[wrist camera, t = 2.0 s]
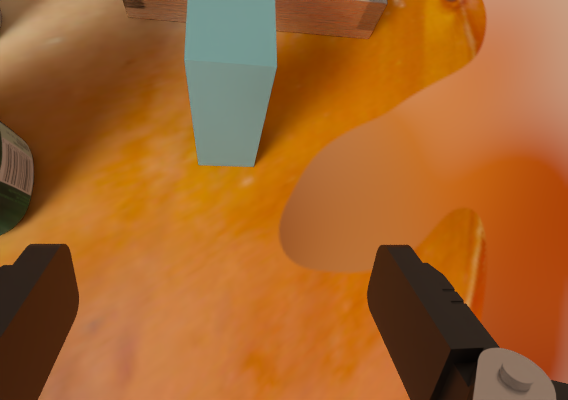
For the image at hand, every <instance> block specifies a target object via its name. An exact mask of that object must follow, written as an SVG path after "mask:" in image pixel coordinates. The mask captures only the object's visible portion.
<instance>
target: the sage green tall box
mask: <svg viewBox="0 0 568 400" xmlns="http://www.w3.org/2000/svg"><path fill="white" fill-rule="evenodd" d="M184 62H185V69H186V76H187V84H188V91H189V99H190V106H191V113H192V121H193V128H194V136H195V143H196V150H197V158H198V165H213V166H244V167H254V164H255V159H256V155H257V151H258V146H259V142H260V138H261V133H262V129H263V125H264V121H265V116H266V112H267V108H268V103H269V99H270V95H271V90H272V86H273V82H274V77H275V73H276V69H277V50H276V14H275V0H187V18H186V37H185V55H184Z"/></svg>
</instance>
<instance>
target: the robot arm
mask: <svg viewBox="0 0 568 400" xmlns="http://www.w3.org/2000/svg"><path fill="white" fill-rule="evenodd" d="M367 299H368V306H369V309H370V312H371V314H372V316H373V318H374V321H375V323H376V325H377V327H378V329H379V332H380V334H381V336H382V338H383V340H384V343H385V345H386V347H387V349H388V351H389V354H390V356H391V358H392V360H393V363H394V365H395V367H396V369H397V371H398V374H399V376H400V378H401V380H402V382H403V385H404V387H405V389H406V391H407V393H408V396H409V398H410V400H568V384H566V383H562V382H557V381H553V380H550V379H549V377H548V376H547V375H546V374H545V372H544V371H543V370H542V369H541V368H540V367H538V366H537V365H536V364H535V363H534V362H532V361H531V360H529V359H528V358H526V357H524V356H523V355H520V354H518V353H516V352H513V351H511V350H507V349H503V348H500V347H499V346H498V345H497V343H496V342H495V341H494V339H493V338H492V337H491V336H490V334H489V333H488V332H487V330H486V329H485V328H484V327H483V325H482V324H481V323H480V321H479V320H478V319H477V317H476V316H475V315H474V314H473V312H472V311H471V310H470V308H469V307H468V306H467V304H464V302H463V299H462V298H461V297H460V295H459V294H458V293H457V292H455V291H454V288H453V286H452V285H451V284H450V282H449V281H448V280H447V279H446V277H445V276H444V275H443V274H442V273H440V272H439V271H438V270H436V269H435V268H434V267H432V266H431V265H430V264H428V263H422V261H421V260H420V259H419V257H418V256H417V255H416V253H415V252H414V250H413V249H412V248H411V247H410V246H409V245H381V246H380V247H379V248H378V251H377V254H376V258H375V262H374V266H373V270H372V273H371V277H370V281H369V285H368V291H367ZM78 305H79V293H78V287H77V282H76V277H75V273H74V268H73V263H72V258H71V253H70V249H69V247H68V246H67V245H66V244H30V245H28V246H27V247H26V249H25V250H24V251H23V252H22V254H21V255H20V256H19V258H18V259H17V260H16V261H15V263H14V264H13V265H3V266H2V267H0V400H38V398H39V396H40V394H41V392H42V389H43V387H44V385H45V383H46V381H47V379H48V376H49V374H50V372H51V370H52V368H53V365H54V363H55V361H56V359H57V357H58V355H59V352H60V350H61V348H62V346H63V344H64V342H65V339H66V337H67V335H68V333H69V331H70V329H71V326H72V324H73V322H74V320H75V318H76V315H77V311H78Z"/></svg>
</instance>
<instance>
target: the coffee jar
mask: <svg viewBox="0 0 568 400" xmlns="http://www.w3.org/2000/svg"><path fill="white" fill-rule="evenodd" d="M33 184H34V163H33V156H32V153H31V150H30V148H29V147H28V145H27V144H26V142H25V141H24V140H23V139H21V138H20V137H19V136H18V135H17V134H16V133H15V132H13V131H12V130H11V129H10V128H8V127H7V126H6V125H5V124H3V123H2V122H1V121H0V235H2V234H4V233H6V232H8V231H9V230H11V229H12V228H13V227H14V226H16V225H17V224H18V223H19V221H20V220H21V219H22V218H23V216H24V215H25V213H26V211H27V209H28V206H29V203H30V200H31V196H32V191H33Z"/></svg>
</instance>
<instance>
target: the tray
mask: <svg viewBox="0 0 568 400" xmlns="http://www.w3.org/2000/svg"><path fill="white" fill-rule="evenodd" d="M123 3H124V6H125V9H126V12H127V16H128V17H133V18H144V19H155V20H166V21H176V22H186V18H187V0H123ZM386 5H387V0H275V14H276V31H286V32H297V33H308V34H319V35H330V36H341V37H352V38H363V39H369V37H370V35H371V33H372V31H373V30H374V28H375V26H376V24H377V22H378V20H379V18H380V17H381V15H382V13H383V11H384V9H385V7H386Z"/></svg>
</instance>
